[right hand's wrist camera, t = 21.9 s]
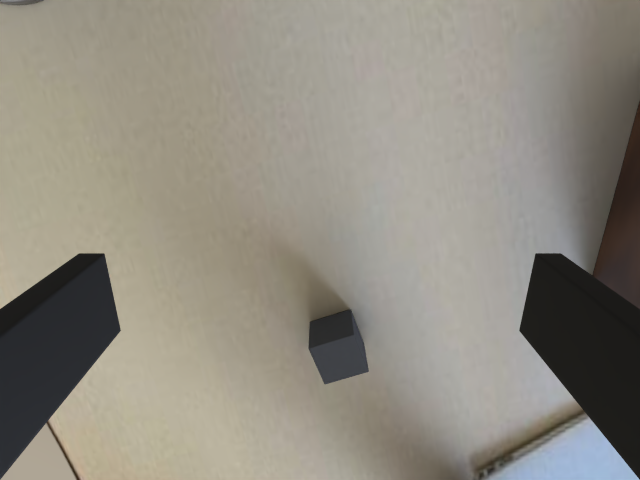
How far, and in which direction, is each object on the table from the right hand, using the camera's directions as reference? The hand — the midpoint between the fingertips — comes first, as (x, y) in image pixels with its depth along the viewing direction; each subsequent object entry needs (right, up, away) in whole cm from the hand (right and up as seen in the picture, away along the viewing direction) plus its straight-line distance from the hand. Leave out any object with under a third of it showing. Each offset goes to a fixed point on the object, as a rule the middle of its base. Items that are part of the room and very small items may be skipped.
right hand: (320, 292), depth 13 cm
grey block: (+2, -9, +34) cm, 36 cm away
